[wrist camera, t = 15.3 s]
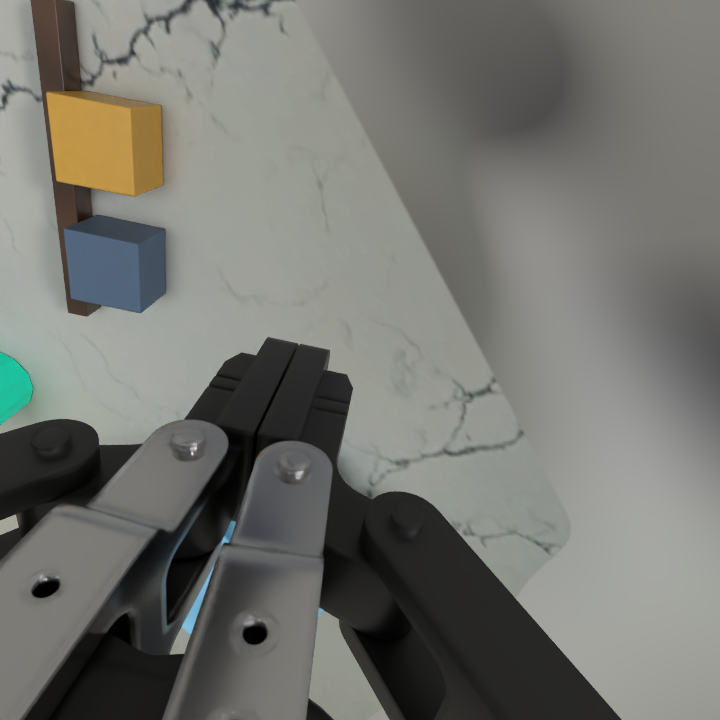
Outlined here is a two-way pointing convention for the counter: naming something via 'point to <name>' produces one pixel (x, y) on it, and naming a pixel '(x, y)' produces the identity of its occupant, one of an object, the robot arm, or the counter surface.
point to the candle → (12, 387)
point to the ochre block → (106, 141)
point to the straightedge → (55, 75)
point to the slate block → (116, 263)
